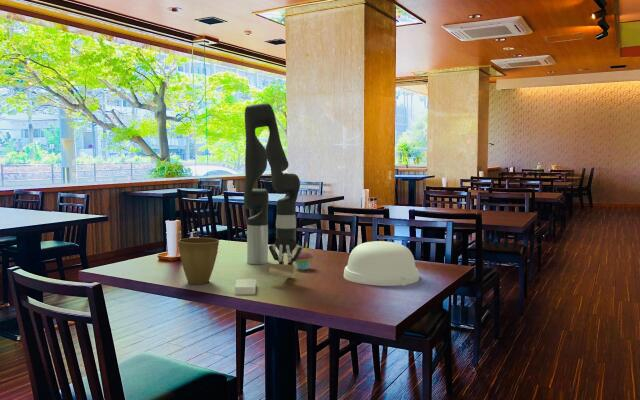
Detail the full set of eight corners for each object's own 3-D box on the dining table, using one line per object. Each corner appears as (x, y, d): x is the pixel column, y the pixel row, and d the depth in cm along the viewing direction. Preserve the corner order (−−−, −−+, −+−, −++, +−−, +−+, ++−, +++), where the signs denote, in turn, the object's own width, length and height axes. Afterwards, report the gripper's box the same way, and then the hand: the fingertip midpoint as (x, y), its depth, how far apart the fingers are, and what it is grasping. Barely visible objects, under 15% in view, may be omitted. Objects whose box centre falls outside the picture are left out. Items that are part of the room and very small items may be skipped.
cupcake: (316, 267, 224) (316, 240, 224) (307, 271, 217) (307, 242, 216) (298, 265, 228) (298, 238, 227) (289, 269, 220) (289, 241, 219)
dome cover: (329, 272, 216) (329, 239, 215) (389, 267, 229) (390, 235, 228) (370, 290, 187) (371, 251, 186) (436, 282, 200) (437, 246, 199)
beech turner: (279, 276, 205) (280, 266, 206) (301, 277, 203) (302, 267, 204) (269, 274, 192) (269, 263, 193) (292, 275, 190) (293, 264, 191)
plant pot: (200, 288, 185) (200, 244, 184) (169, 283, 192) (169, 240, 191) (227, 280, 198) (227, 239, 197) (197, 276, 205) (197, 236, 204)
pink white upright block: (236, 279, 190) (234, 287, 178) (256, 279, 190) (255, 287, 179) (236, 287, 190) (234, 295, 178) (256, 286, 191) (255, 295, 179)
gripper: (306, 226, 199) (305, 270, 200) (271, 224, 202) (271, 268, 203) (301, 228, 191) (300, 274, 192) (265, 226, 194) (265, 272, 196)
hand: (285, 271), depth 198 cm, fingers closed on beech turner, 2 cm apart
